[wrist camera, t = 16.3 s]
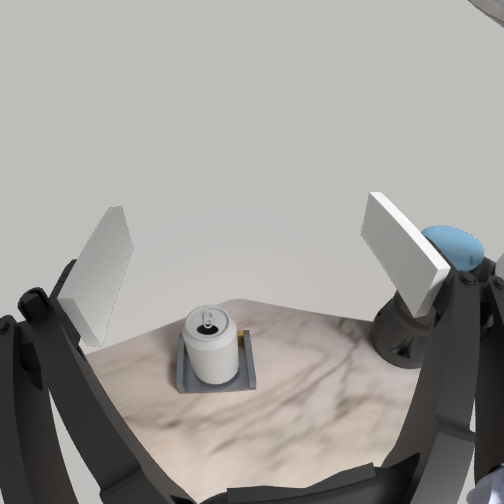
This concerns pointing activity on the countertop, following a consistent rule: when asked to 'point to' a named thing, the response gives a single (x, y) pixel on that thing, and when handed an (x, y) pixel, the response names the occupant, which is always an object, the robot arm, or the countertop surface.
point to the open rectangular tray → (239, 382)
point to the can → (212, 344)
